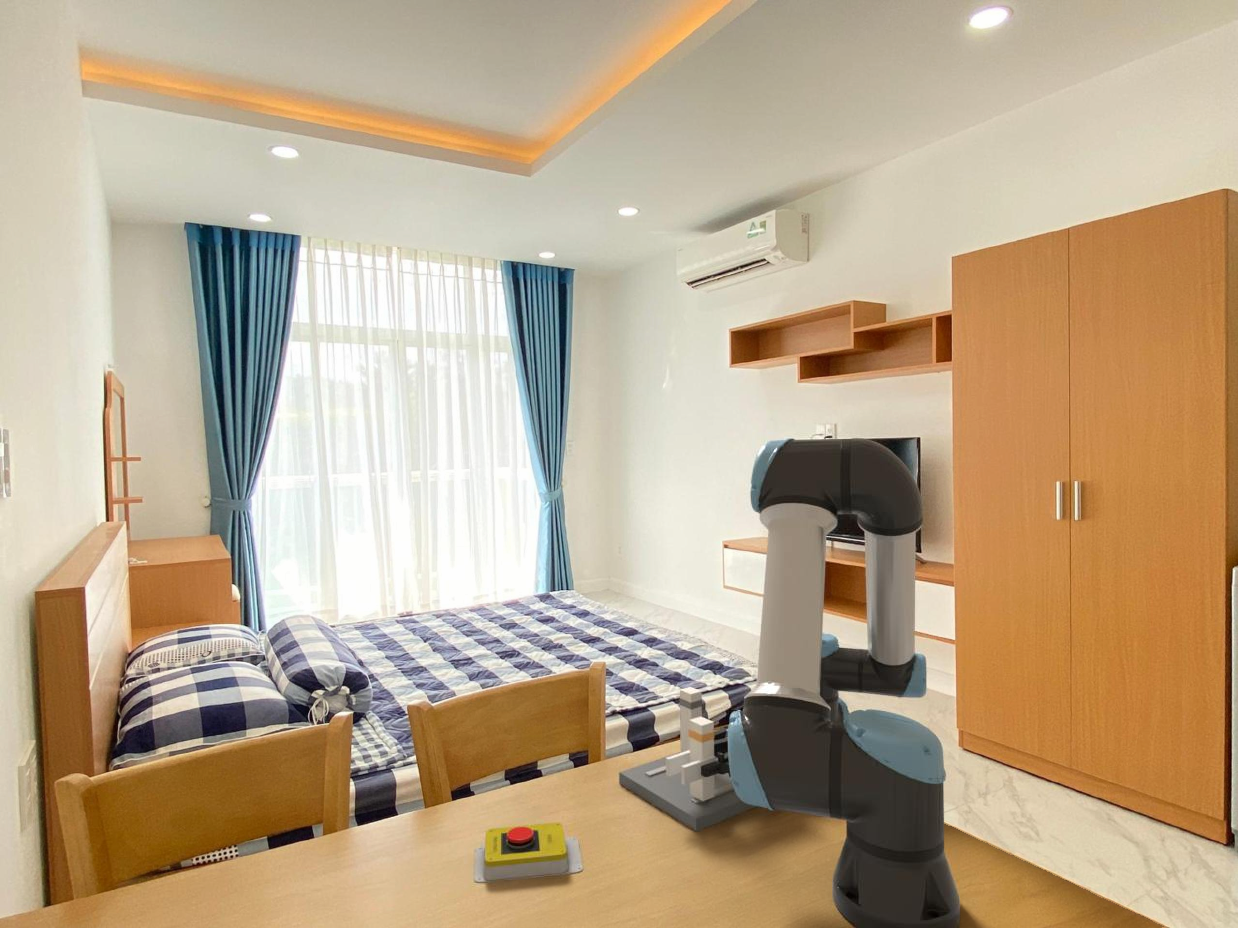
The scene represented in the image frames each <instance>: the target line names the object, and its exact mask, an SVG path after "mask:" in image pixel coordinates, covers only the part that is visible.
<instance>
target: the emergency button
mask: <svg viewBox="0 0 1238 928" xmlns="http://www.w3.org/2000/svg"><path fill="white" fill-rule="evenodd" d="M563 825H564V824H563V823H562V822H558V821H557V822H547V823H546V822H545V823H533V824H525V825H524V824H523V825H515V826H513V825H511V826H504V827H502V826H501V827H493V828H488V829H487V830H486V832H485V842H484V844H482V845H480V846H477V847H476V849H475V854H474V856H475V858H474V867H473V868H474V871H473V882H475V883H479V884H480V883H481V884H482V883H490V882H491V883H492V882H502V881H511V880H512V881H513V880H521V879H522V880H523V879H530V878H532V879H533V878H540V877H541V878H543V877H551V876H562V875H569V874H577V873H581V872H583V870H584V864H583V860H582V854H581V849H580V842H579V839H578V838H577V837H576V836H565V831H564V826H563Z"/></svg>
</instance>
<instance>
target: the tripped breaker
mask: <svg viewBox="0 0 1238 928" xmlns="http://www.w3.org/2000/svg"><path fill="white" fill-rule="evenodd" d="M714 725H715V723H714V721H713V720H710V719H707V717H706V718H705V717H703V716H702V717H698V718H694V719H691V720H689V745H690V763H691V762H694V761H697V760H700V759H703V758H706V757H709V756H712V755H713V756H714V732H715V731H714V729H715V726H714ZM690 794H691V795H693V796H694V797H696V798H698V799H700V800H701V801H705V800H707V799H710V798H713V797H715V791H714V775H712V776H710V777H706V778H703V779H700V780H697V781H695V782H692V783H690Z"/></svg>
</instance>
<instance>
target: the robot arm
mask: <svg viewBox="0 0 1238 928" xmlns="http://www.w3.org/2000/svg"><path fill="white" fill-rule="evenodd" d="M750 484H751V487H750V493H749V494H750V504H751V508H752V509H753V511H754V512H756V513H758V515H759V521H760V523H761V524H762V525H763V526H764V527H765V528H766V529H767V530H768V532H767V546H766V558H765V559H766V561H765V572H764V584H763V585H764V586H763V596H762V598H763V599H762V609H761V610H762V611H761V623H760V632H759V633H760V635H759V645H758V646H759V648H758V661H757V675H756V685H755V687H754V688H753V689H752V690H750V691H749V692H748V693H747V694H746V695H744V698H743V707H742V708H743V709H742V710H741V709H737V710H736V711H735V710H734V711H732V712H731V714H730V715H729V720H728V721H729V724H728V725H723V726H721V727H720V728H719V729H718V730H715V731H714V756H713V755H712V756H709V757H706V758H703V759H700V760H697V761H694V762H691V763H690V750H688V751H685V752H682V753H679V752H678V753H679V754H676V753H675V754H676V755H673V754H672V755H673V756H670V755H669V756H670V757H667V756H666V757H667V758H666V775H667V776H672V775H675V774H678V773H681V784H683V785H686V784H689V783H692V782H695V781H697V780H700V779H703V778H706V777H710V776H712V775H715V774H722V775H723V774H726V773H729V777H731V779H732V784H733V787H734V790H735V792H736V794H737V796H738V797H739V798H740V800H742V801H743V802H744V803H747V804H750V805H755V806H756V807H761V808H765V809H768V810H769V811H775V810H776V811H784V812H790V813H794V814H795V813H796V814H802V815H811V816H816V817H822V818H823V817H824V818H829V819H836V820H842V821H846V836H845V840H844V843H843V846H842V848H841V851H840V854H839V857H838V860H837V863H836V866H835V868H834V871H833V875H832V899H833V902H834V905H835V907H836V908H837V910H838V911H839V912H840V914H842V917H845V919H846V920H848V921H849V922H850V923H852V924H853V925H854V926H856V927H858V928H958V927H959V924H960V921H961V901H960V895H959V891H958V889H957V886H956V883H955V879H954V877H953V874H952V870H951V868H950V865H949V862H948V859H947V856H946V853H945V852H946V851H945V805H944V804H945V801H944V800H945V799H944V798H945V797H944V795H945V794H944V783H945V781H946V777H947V772H946V769H945V765H944V763H945V762H944V749H943V745H942V742H941V741H940V739H939V737H938V736H937V735H936V734H935V732H934V731H932V730H931V729H930V728H928V727H927V726H925V725H924V724H922V723H921V722H919V721H917V720H914V719H912V718H910V717H907V716H904V715H902V714H898V713H894V712H891V711H887V710H880V709H868V708H867V709H866V710H864V709H863V710H862V709H857V710H853V711H851V712H850V711H849V708H848V705H847V703H846V702H845V701H844V700H843V699H842V698H841V697H839V694H840V693H839V692H848V693H857V694H858V693H859V694H870V695H878V696H886V697H887V696H888V697H897V698H900V699H901V698H908V699H909V698H910V699H911V698H912V699H913V698H915V699H916V698H917V699H918V698H919V699H921V698H923V697H924V696H926V694H927V658H926V656H925V654H922V653H916V650H915V649H916V647H915V646H916V642H915V641H916V638H915V636H916V548H917V546H916V543H917V542H916V537H917V535H916V534H917V532H918V531H919V530H921V528H922V526H923V523H924V507H923V498H922V494H921V492H920V489H919V487H918V484H917V482H916V480H915V478H914V475H913V473H911V471H910V470H909V468H908V467H907V465H906V464H905V463H904V462H903V460H901V458H899V456H898V455H896V454H895V453H894V452H893V451H892V450H891V449H890V448H888V447H887V446H885V445H882V444H881V443H879V442H877V441H874V440H871V439H867V438H862V437H861V438H859V437H858V438H857V437H852V438H822V439H821V438H820V439H818V438H817V439H816V438H815V439H814V438H813V439H795V438H793V437H792V438H791V437H790V438H789V437H788V438H787V439H781V440H780V439H778V440H777V439H776V440H769V441H767V442H765V444H763V445H761V447H760V448H759V449H758V451H757V454H756V457H755V460H754V462H753V468H752V472H751V478H750ZM839 515H856V517H857V524H858V527H859V528H860V529H861V530H862V531H863V532H864V557H865V558H864V559H865V560H864V561H865V592H866V629H867V633H866V634H867V649H866V648H865V649H862V648H851V647H841V646H840V644H839V640H838V638H837V636H835V635H833V634H831V633H825V632H823V625H824V623H823V622H824V602H825V601H824V600H825V599H824V598H825V580H826V579H825V577H826V558H827V557H826V555H827V554H826V552H827V535H828V534H829V533H831V532H832V531H833V530H834V529H835V528H836V527H837V526H838V516H839ZM716 758H718V760H717V761H716Z"/></svg>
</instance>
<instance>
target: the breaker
mask: <svg viewBox="0 0 1238 928" xmlns="http://www.w3.org/2000/svg"><path fill="white" fill-rule="evenodd" d="M702 694H703V693H702V690H699V689H697V688H694V687H692V686H688V687H685V688H682V689H679V726H680V727H679V728H680V729H679V730H680V731H679V732H680V733H679V734H680V735H679V736H680V739H679V740H680V752H681V753H682V752H685V751H688V750H690V745H689V720H691V719H694V718H698V717H703V715H702V712H703V711H702V708H703V699H702Z"/></svg>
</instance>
